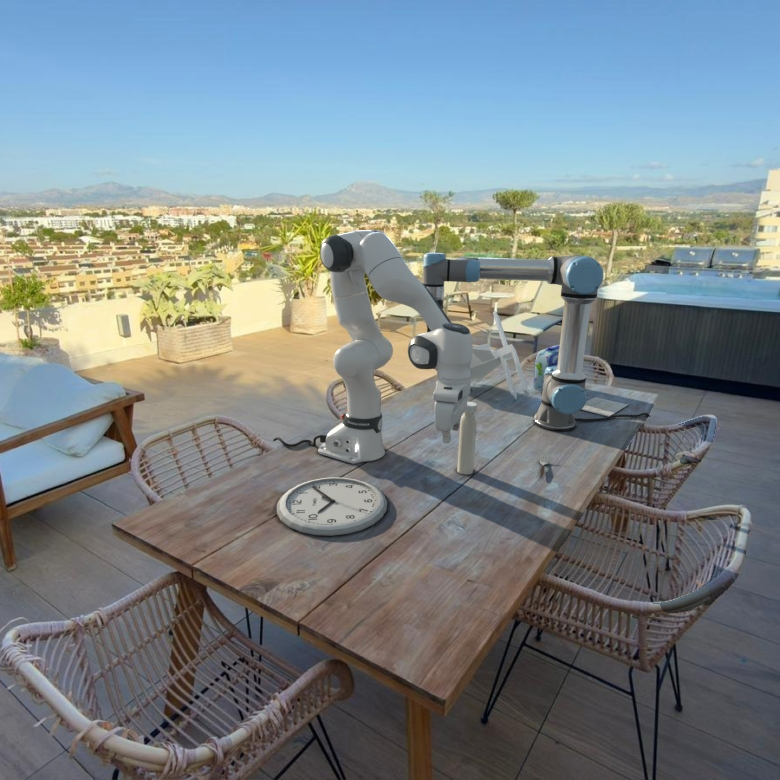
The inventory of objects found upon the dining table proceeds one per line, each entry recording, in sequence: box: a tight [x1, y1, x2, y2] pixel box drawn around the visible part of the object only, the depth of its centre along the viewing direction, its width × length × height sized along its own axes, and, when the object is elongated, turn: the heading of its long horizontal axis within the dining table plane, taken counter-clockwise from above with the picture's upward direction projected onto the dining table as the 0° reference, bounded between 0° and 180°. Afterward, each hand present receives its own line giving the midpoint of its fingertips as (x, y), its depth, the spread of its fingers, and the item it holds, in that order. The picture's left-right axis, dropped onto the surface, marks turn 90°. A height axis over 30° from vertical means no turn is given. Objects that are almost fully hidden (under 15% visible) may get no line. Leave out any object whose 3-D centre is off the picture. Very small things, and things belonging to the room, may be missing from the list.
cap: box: [464, 401, 478, 414], centre depth 158 cm, size 4×4×2 cm
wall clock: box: [276, 476, 388, 537], centre depth 142 cm, size 30×2×30 cm
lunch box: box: [533, 344, 560, 392], centre depth 247 cm, size 26×11×21 cm, turn 134°
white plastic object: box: [470, 310, 531, 400], centre depth 245 cm, size 37×45×31 cm
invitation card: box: [580, 396, 629, 417], centre depth 226 cm, size 21×1×15 cm
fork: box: [539, 453, 550, 478], centre depth 166 cm, size 3×16×2 cm, turn 160°
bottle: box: [456, 412, 478, 476], centre depth 161 cm, size 5×5×22 cm
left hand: (451, 435), depth 140 cm, fingers open, 8 cm apart
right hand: (430, 357), depth 190 cm, fingers open, 13 cm apart
